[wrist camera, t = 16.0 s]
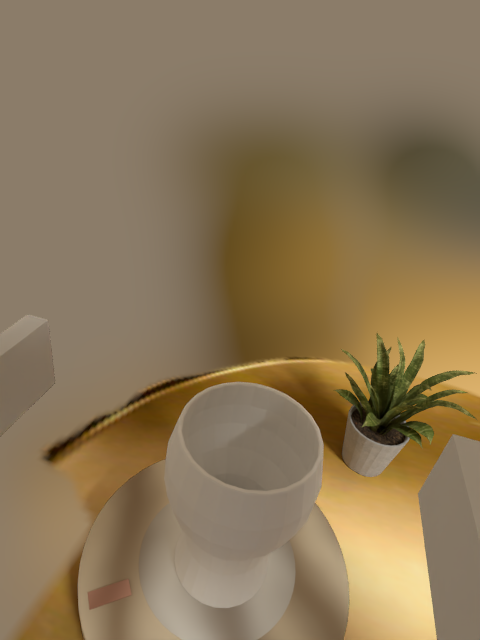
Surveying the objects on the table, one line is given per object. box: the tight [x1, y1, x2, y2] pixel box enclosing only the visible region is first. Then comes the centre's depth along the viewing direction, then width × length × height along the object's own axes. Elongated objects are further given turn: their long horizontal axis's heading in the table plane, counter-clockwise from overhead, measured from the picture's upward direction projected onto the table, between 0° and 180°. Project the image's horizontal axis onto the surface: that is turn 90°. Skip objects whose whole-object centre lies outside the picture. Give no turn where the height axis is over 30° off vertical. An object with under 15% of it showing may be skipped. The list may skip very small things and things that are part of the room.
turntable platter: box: [78, 459, 349, 640], centre depth 35 cm, size 22×22×2 cm
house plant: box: [333, 334, 478, 477], centre depth 47 cm, size 14×14×16 cm
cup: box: [164, 382, 324, 608], centre depth 31 cm, size 11×11×15 cm
